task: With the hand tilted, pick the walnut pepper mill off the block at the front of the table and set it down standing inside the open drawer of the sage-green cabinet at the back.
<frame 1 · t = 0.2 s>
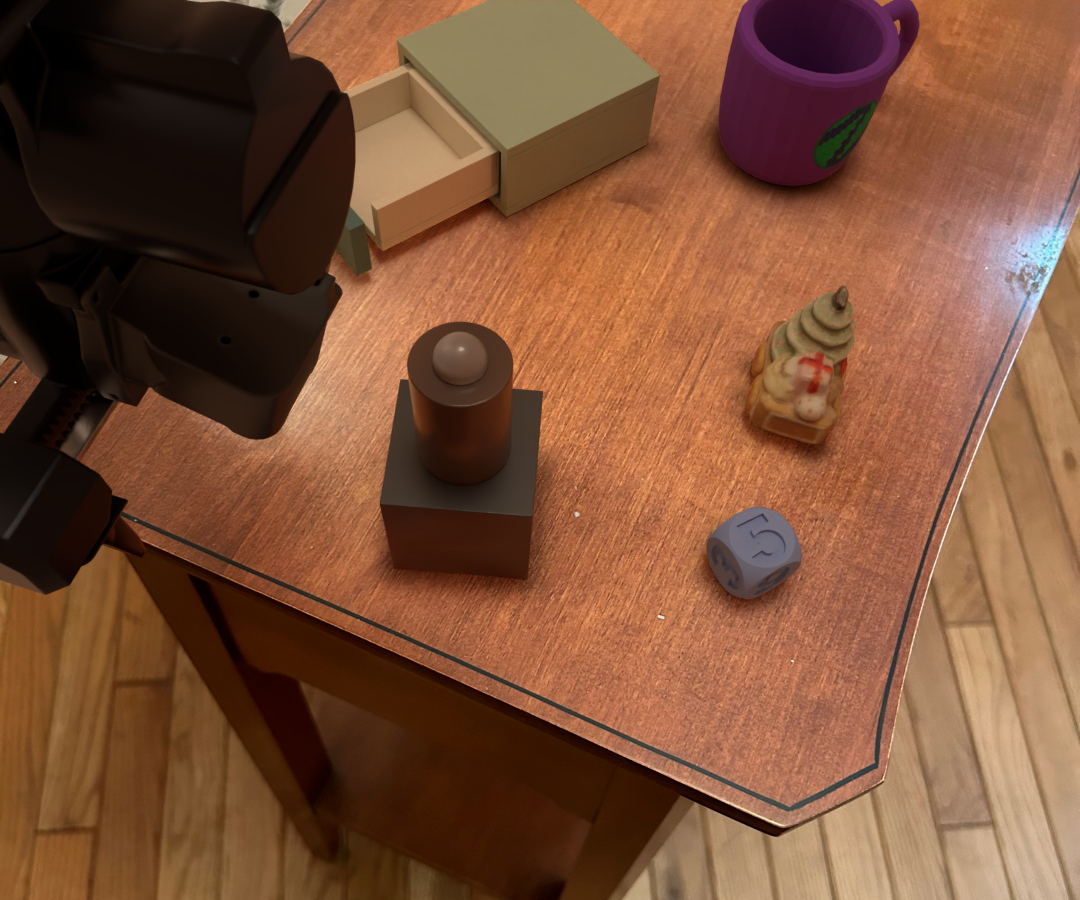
hand: (186, 463, 42), 15 cm above the table, tool pointing down, fingers open, 9 cm apart
cabinet: (525, 127, 73), on the table
decorative dice: (744, 568, 57), on the table
drawer: (358, 172, 66), point 3 cm above the table, slide at 11.0 cm
mug: (808, 134, 75), on the table
block: (467, 515, 58), on the table
pepper mill: (464, 445, 51), point 8 cm above the table, touching block
ornament: (788, 402, 63), on the table
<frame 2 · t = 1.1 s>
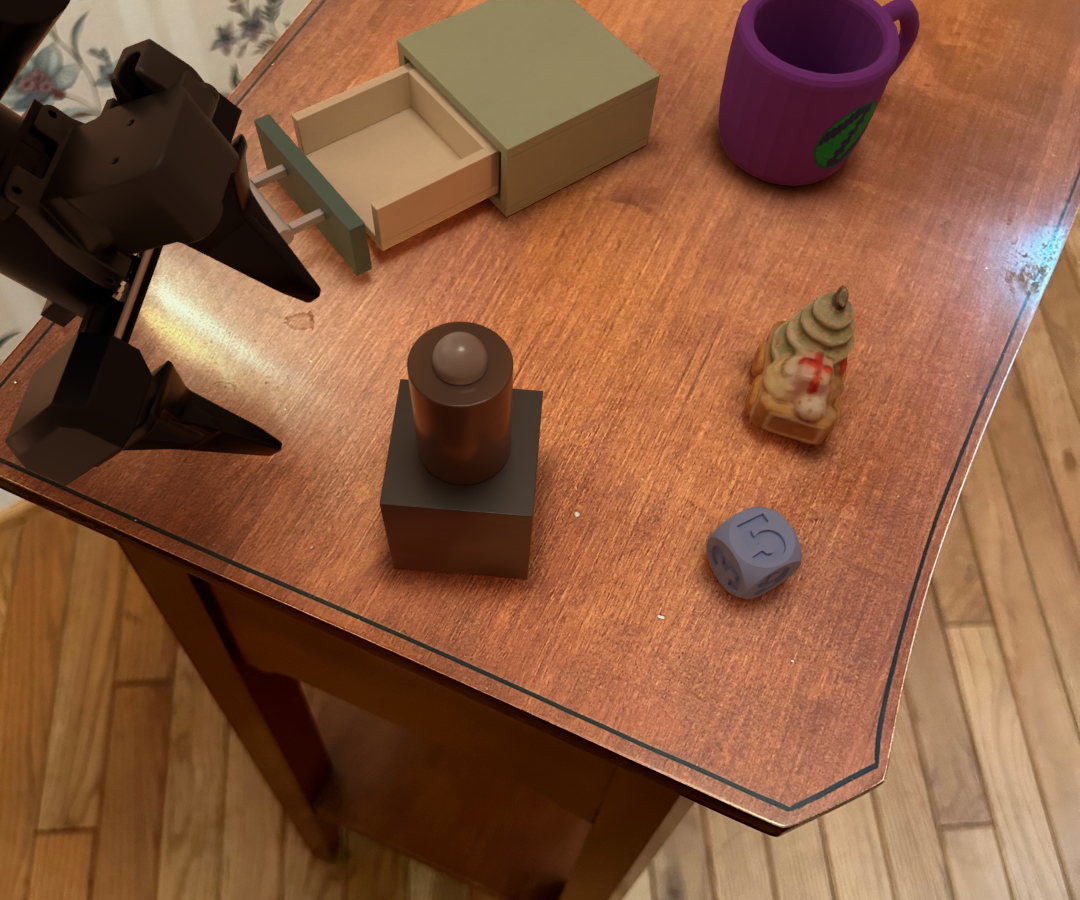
hand: (297, 370, 46), 13 cm above the table, tool tilted 45°, fingers open, 9 cm apart
nothing on the table moved.
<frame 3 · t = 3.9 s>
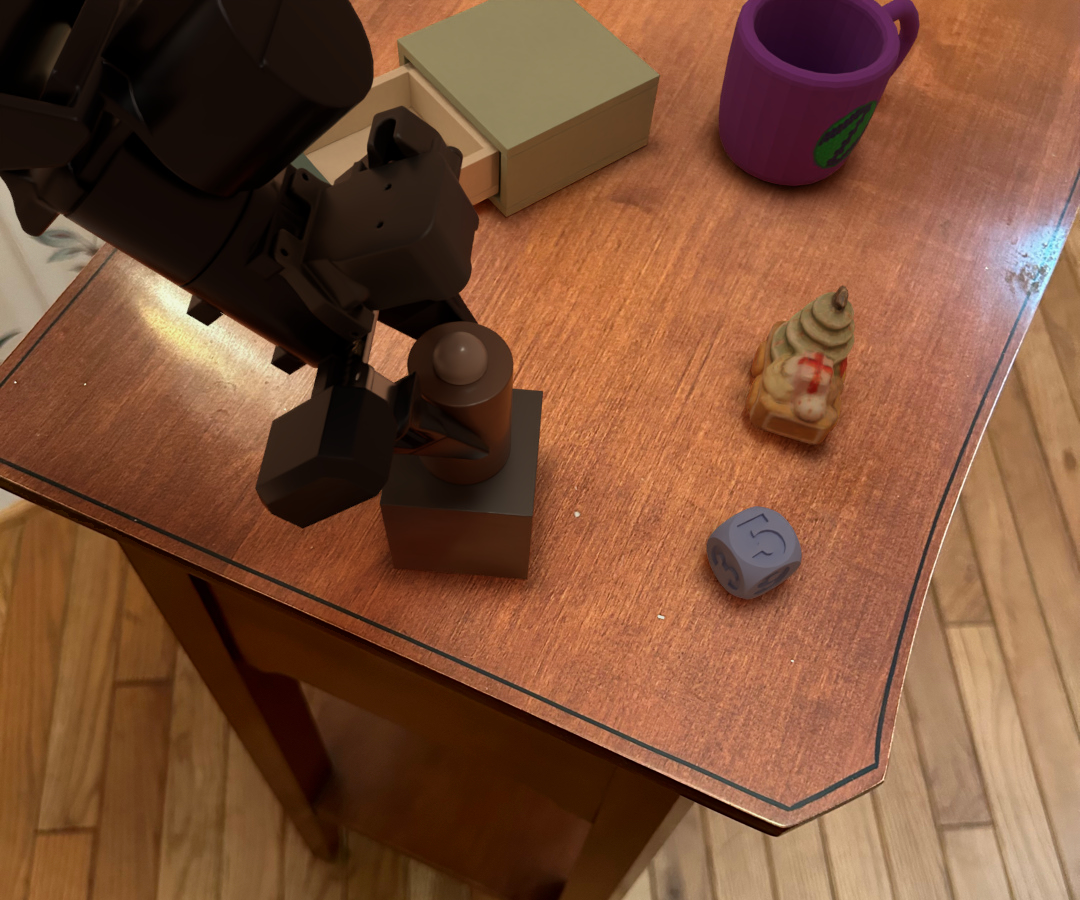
hand: (489, 410, 47), 12 cm above the table, tool tilted 45°, fingers closed on pepper mill, 5 cm apart
pepper mill: (464, 445, 51), point 8 cm above the table, touching gripper, block
everything else where it was.
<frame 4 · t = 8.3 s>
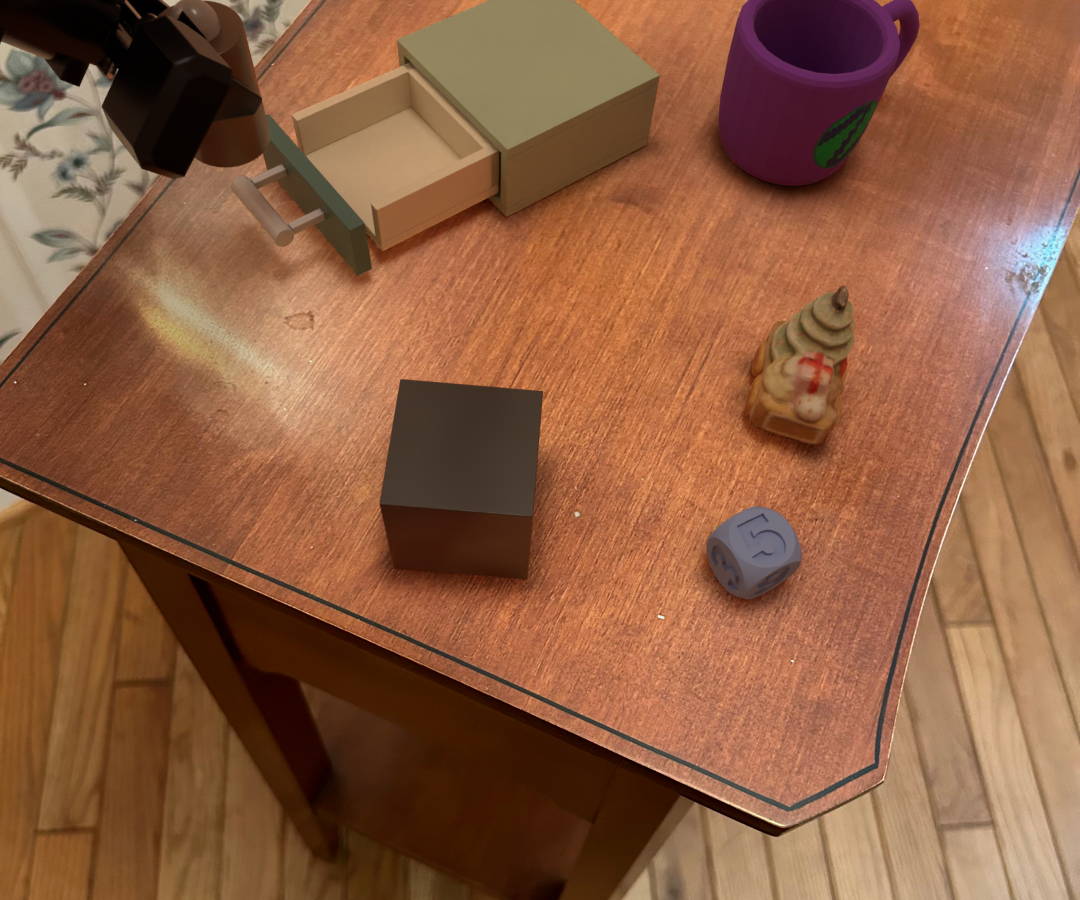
hand: (235, 79, 55), 13 cm above the table, tool tilted 45°, fingers closed on pepper mill, 5 cm apart
pepper mill: (228, 139, 57), point 10 cm above the table, touching gripper
everything else where it was.
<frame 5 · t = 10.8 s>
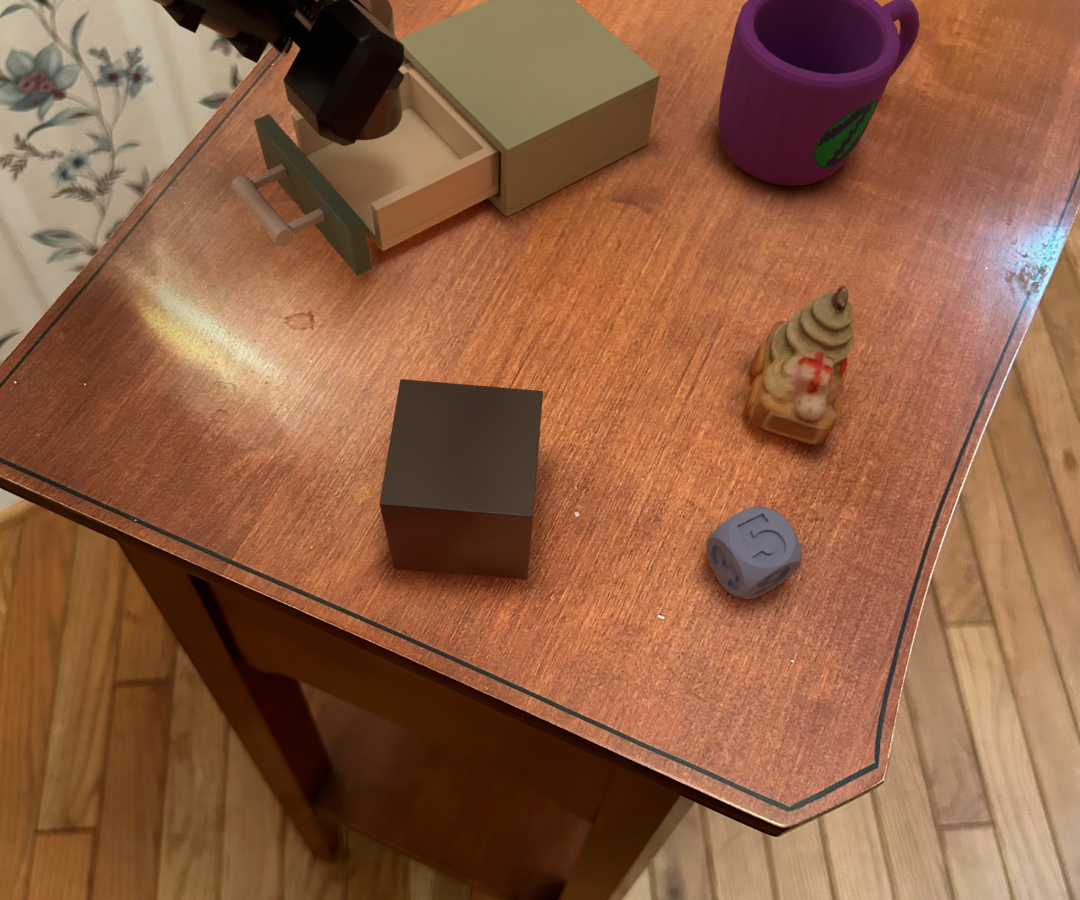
hand: (376, 58, 60), 11 cm above the table, tool tilted 45°, fingers closed on pepper mill, 5 cm apart
pepper mill: (364, 114, 63), point 7 cm above the table, touching gripper
everything else where it was.
when the fingers open (6 cm above the table, at t = 12.7 s): pepper mill stays where it is, resting on drawer.
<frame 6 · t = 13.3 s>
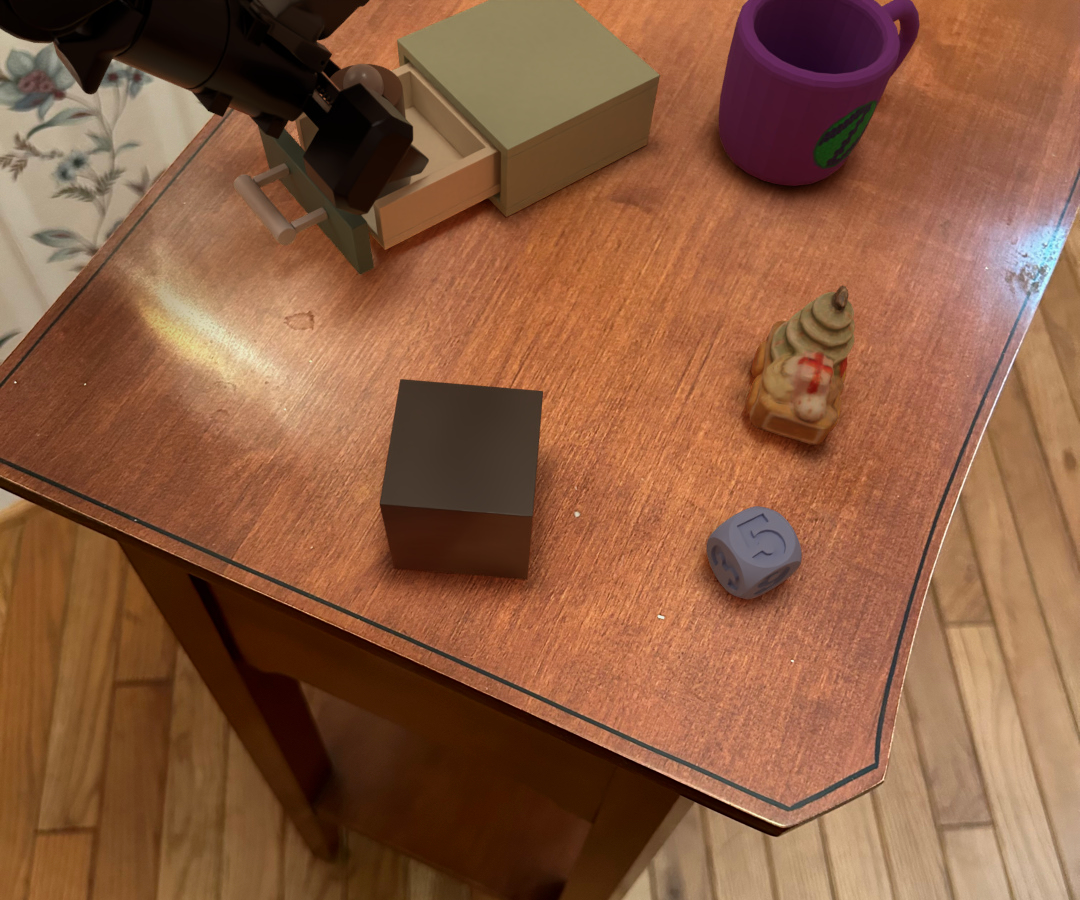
hand: (386, 125, 64), 6 cm above the table, tool tilted 45°, fingers open, 9 cm apart
drawer: (361, 171, 66), point 3 cm above the table, slide at 10.8 cm, touching pepper mill
pepper mill: (376, 176, 67), point 2 cm above the table, touching drawer
everything else where it was.
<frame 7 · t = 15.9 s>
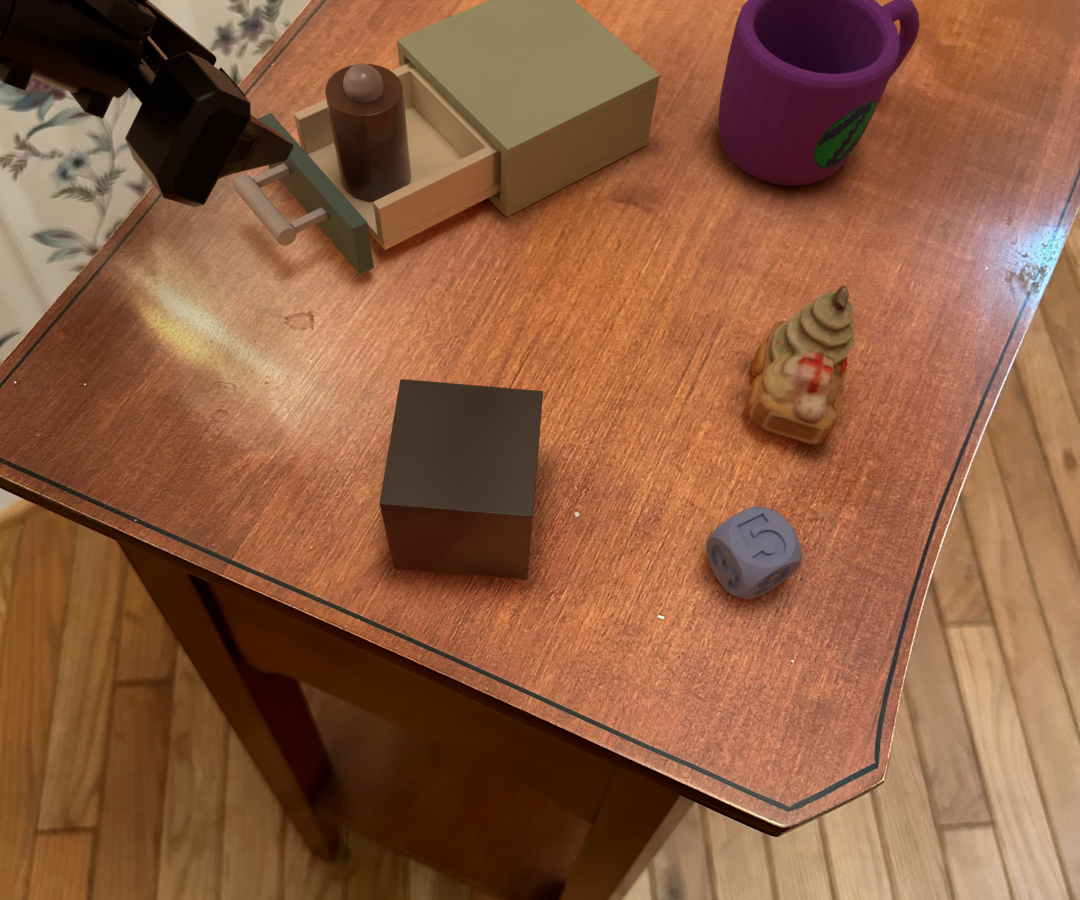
hand: (249, 107, 57), 11 cm above the table, tool tilted 45°, fingers open, 9 cm apart
nothing on the table moved.
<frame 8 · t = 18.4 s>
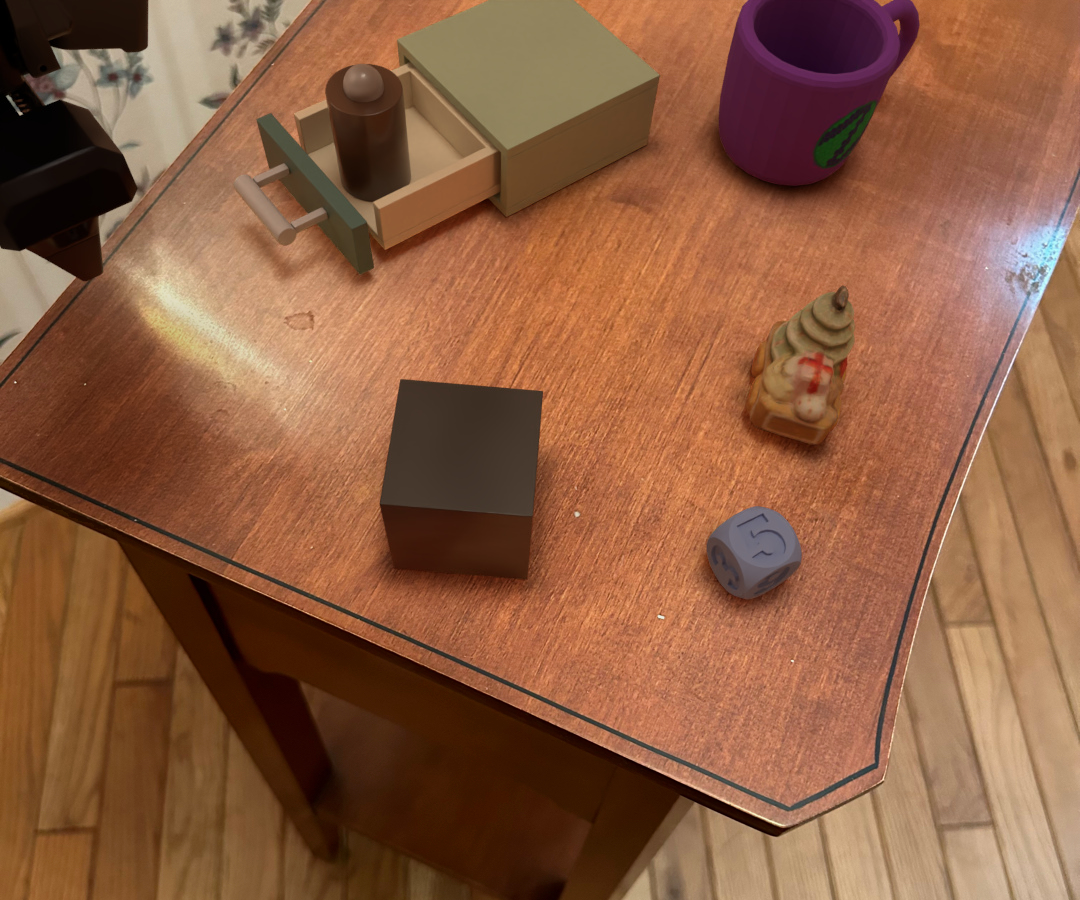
hand: (54, 220, 50), 13 cm above the table, tool pointing down, fingers open, 9 cm apart
nothing on the table moved.
at the end: pepper mill inside the target area in the drawer (0.2 cm from its centre), point 2.0 cm above the cabinet's base; pepper mill tilted 0°; drawer slide at 10.8 cm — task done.
